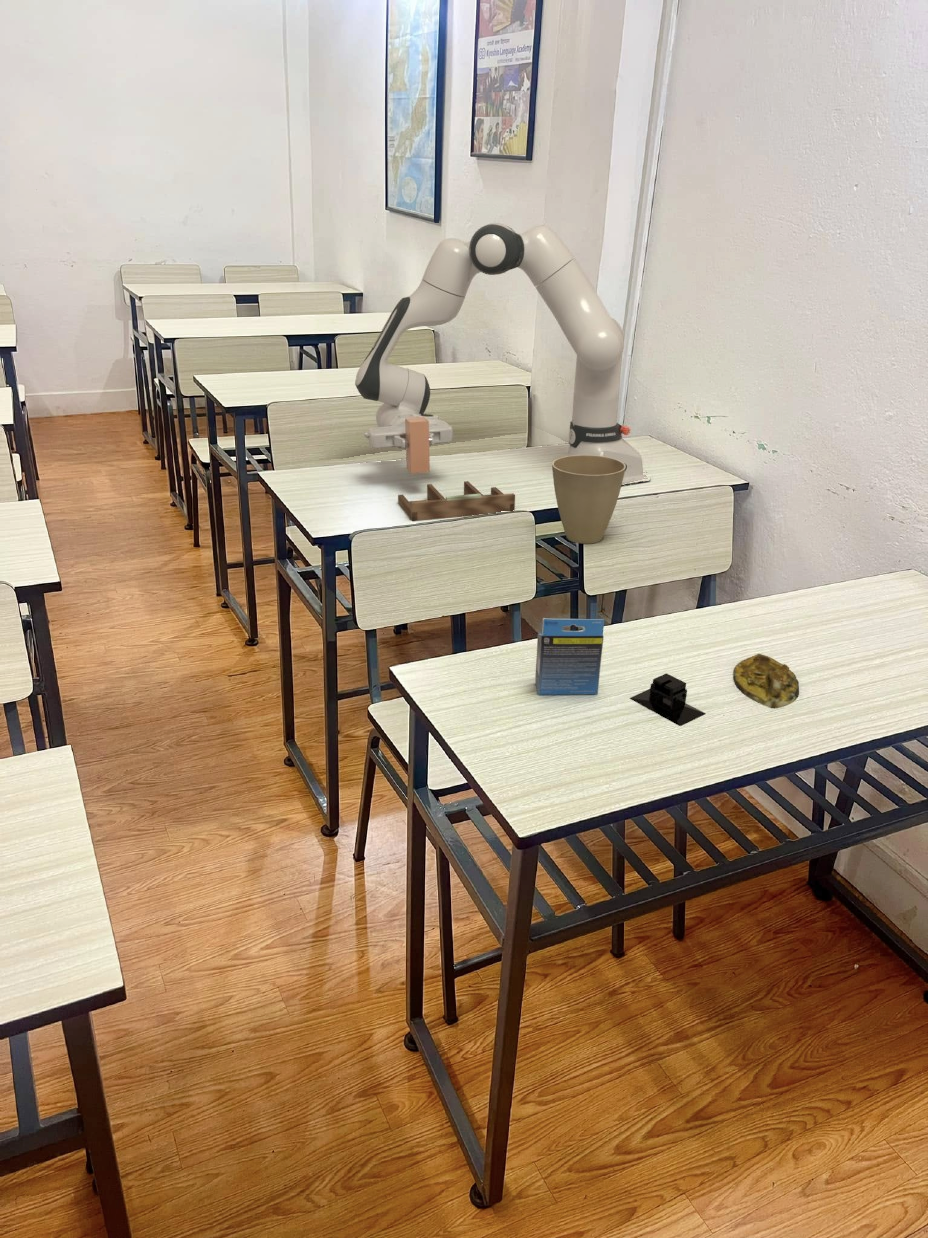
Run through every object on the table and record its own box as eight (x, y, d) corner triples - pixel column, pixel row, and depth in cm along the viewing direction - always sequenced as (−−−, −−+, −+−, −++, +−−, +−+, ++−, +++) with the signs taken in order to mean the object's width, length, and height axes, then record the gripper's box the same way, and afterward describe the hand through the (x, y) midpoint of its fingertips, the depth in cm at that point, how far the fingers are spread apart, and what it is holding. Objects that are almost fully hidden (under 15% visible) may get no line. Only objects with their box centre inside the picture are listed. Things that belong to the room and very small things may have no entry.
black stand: (616, 698, 130) (619, 671, 128) (650, 683, 134) (653, 656, 132) (684, 736, 121) (688, 707, 119) (718, 719, 125) (723, 690, 123)
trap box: (495, 495, 215) (496, 476, 213) (514, 511, 204) (515, 492, 202) (398, 503, 208) (397, 484, 206) (412, 521, 197) (411, 500, 195)
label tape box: (593, 682, 133) (600, 607, 127) (598, 696, 129) (605, 619, 124) (534, 683, 132) (538, 607, 127) (537, 696, 129) (542, 619, 123)
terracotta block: (424, 466, 215) (423, 416, 210) (429, 471, 211) (428, 420, 206) (406, 468, 214) (405, 418, 209) (411, 473, 210) (409, 422, 205)
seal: (725, 665, 141) (742, 714, 127) (725, 638, 139) (743, 684, 126) (786, 662, 140) (811, 711, 126) (788, 635, 138) (813, 682, 124)
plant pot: (558, 522, 197) (562, 451, 190) (625, 531, 193) (632, 458, 186) (539, 544, 185) (543, 469, 178) (610, 554, 180) (617, 477, 173)
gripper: (361, 420, 217) (374, 433, 205) (442, 414, 222) (459, 426, 210) (363, 445, 219) (375, 460, 207) (443, 439, 225) (459, 453, 213)
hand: (418, 443), depth 209 cm, fingers closed on terracotta block, 4 cm apart
